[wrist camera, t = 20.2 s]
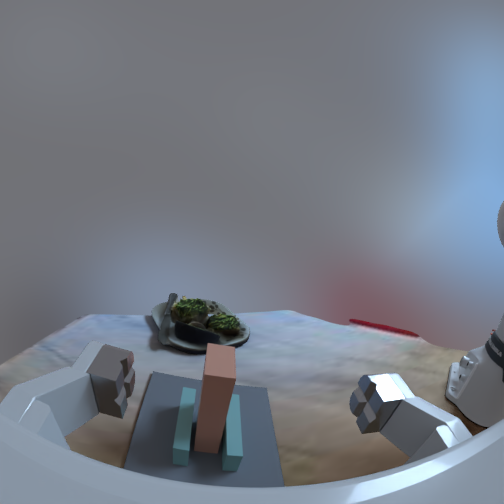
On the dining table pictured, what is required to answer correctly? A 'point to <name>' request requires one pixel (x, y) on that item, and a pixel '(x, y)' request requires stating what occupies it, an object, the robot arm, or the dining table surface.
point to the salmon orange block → (215, 397)
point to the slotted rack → (230, 436)
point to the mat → (199, 463)
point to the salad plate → (197, 325)
